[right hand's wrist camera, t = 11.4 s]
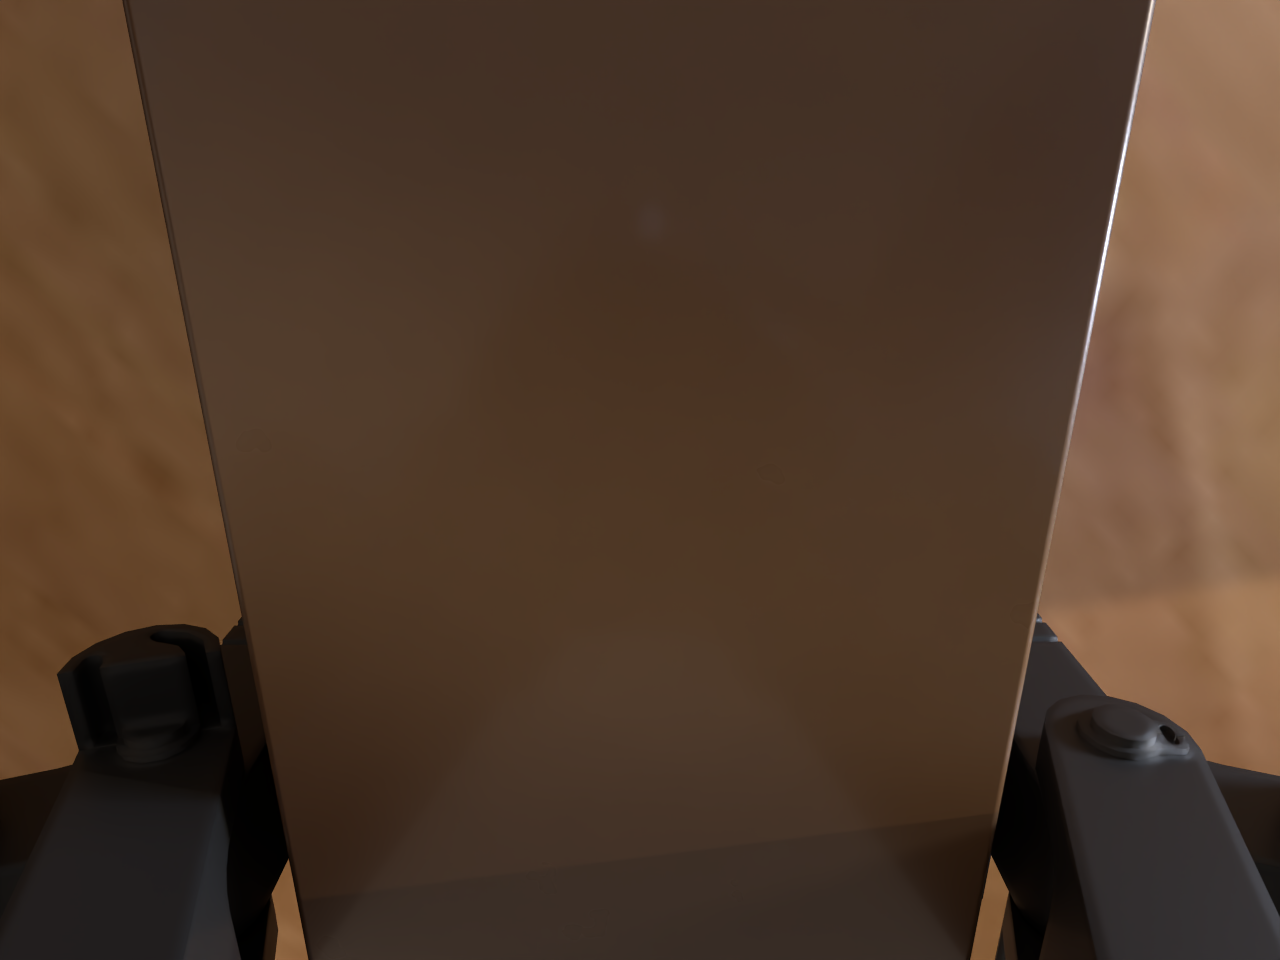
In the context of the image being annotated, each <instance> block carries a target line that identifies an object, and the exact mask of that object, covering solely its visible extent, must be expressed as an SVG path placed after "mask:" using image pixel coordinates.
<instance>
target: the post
mask: <svg viewBox="0 0 1280 960" xmlns="http://www.w3.org/2000/svg"><path fill="white" fill-rule="evenodd" d="M122 1H123V6H124V11H125V16H126V22H127V27H128V32H129V37H130V42H131V47H132V53H133V58H134V63H135V68H136V73H137V78H138V83H139V89H140V94H141V99H142V104H143V109H144V114H145V119H146V125H147V130H148V135H149V140H150V145H151V150H152V156H153V161H154V166H155V171H156V176H157V181H158V186H159V192H160V197H161V202H162V207H163V212H164V217H165V223H166V228H167V233H168V238H169V243H170V248H171V253H172V259H173V264H174V269H175V274H176V279H177V284H178V290H179V295H180V300H181V305H182V310H183V315H184V320H185V326H186V331H187V336H188V341H189V346H190V351H191V357H192V362H193V367H194V372H195V377H196V382H197V387H198V393H199V398H200V403H201V408H202V413H203V418H204V424H205V429H206V434H207V439H208V444H209V449H210V454H211V460H212V465H213V470H214V475H215V480H216V485H217V490H218V496H219V501H220V506H221V511H222V516H223V521H224V527H225V532H226V537H227V542H228V547H229V552H230V557H231V563H232V568H233V573H234V578H235V583H236V588H237V594H238V599H239V604H240V609H241V614H242V619H243V624H244V630H245V635H246V640H247V645H248V650H249V655H250V661H251V666H252V671H253V676H254V681H255V686H256V691H257V697H258V702H259V707H260V712H261V717H262V722H263V728H264V733H265V738H266V743H267V748H268V753H269V758H270V764H271V769H272V774H273V779H274V784H275V789H276V795H277V800H278V805H279V810H280V815H281V820H282V825H283V831H284V836H285V841H286V846H287V851H288V856H289V862H290V867H291V872H292V877H293V882H294V887H295V892H296V898H297V903H298V908H299V913H300V918H301V923H302V928H303V934H304V939H305V944H306V949H307V954H308V959H309V960H970V958H971V953H972V947H973V942H974V937H975V932H976V927H977V922H978V916H979V911H980V906H981V901H982V896H983V891H984V886H985V880H986V875H987V870H988V865H989V860H990V855H991V849H992V844H993V839H994V834H995V829H996V824H997V818H998V813H999V808H1000V803H1001V798H1002V793H1003V787H1004V782H1005V777H1006V772H1007V767H1008V762H1009V757H1010V751H1011V746H1012V741H1013V736H1014V731H1015V726H1016V720H1017V715H1018V710H1019V705H1020V700H1021V695H1022V689H1023V684H1024V679H1025V674H1026V669H1027V664H1028V659H1029V653H1030V648H1031V643H1032V638H1033V633H1034V628H1035V622H1036V617H1037V612H1038V607H1039V602H1040V597H1041V591H1042V586H1043V581H1044V576H1045V571H1046V566H1047V561H1048V555H1049V550H1050V545H1051V540H1052V535H1053V530H1054V524H1055V519H1056V514H1057V509H1058V504H1059V499H1060V493H1061V488H1062V483H1063V478H1064V473H1065V468H1066V462H1067V457H1068V452H1069V447H1070V442H1071V437H1072V432H1073V426H1074V421H1075V416H1076V411H1077V406H1078V401H1079V395H1080V390H1081V385H1082V380H1083V375H1084V370H1085V364H1086V359H1087V354H1088V349H1089V344H1090V339H1091V334H1092V328H1093V323H1094V318H1095V313H1096V308H1097V303H1098V297H1099V292H1100V287H1101V282H1102V277H1103V272H1104V266H1105V261H1106V256H1107V251H1108V246H1109V241H1110V235H1111V230H1112V225H1113V220H1114V215H1115V210H1116V205H1117V199H1118V194H1119V189H1120V184H1121V179H1122V174H1123V168H1124V163H1125V158H1126V153H1127V148H1128V143H1129V137H1130V132H1131V127H1132V122H1133V117H1134V112H1135V107H1136V101H1137V96H1138V91H1139V86H1140V81H1141V76H1142V70H1143V65H1144V60H1145V55H1146V50H1147V45H1148V39H1149V34H1150V29H1151V24H1152V19H1153V14H1154V9H1155V3H1156V0H122Z"/></svg>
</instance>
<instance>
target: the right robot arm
mask: <svg viewBox="0 0 1280 960" xmlns="http://www.w3.org/2000/svg"><path fill="white" fill-rule="evenodd" d="M57 676H58V680H59V683H60V687H61V690H62V694H63V697H64V701H65V704H66V707H67V711H68V714H69V718H70V721H71V725H72V728H73V731H74V735H75V738H76V742H77V745H78V749H79V752H78V754H77V756H76V759H75V761H74V763H73V765H69V766H65V767H62V768H58V769H53V770H48V771H43V772H38V773H33V774H28V775H23V776H18V777H13V778H8V779H3V780H0V960H275V953H276V944H277V935H278V927H277V920H276V914H275V909H274V904H273V899H272V892H273V890H274V888H275V885H276V883H277V881H278V879H279V877H280V875H281V873H282V871H283V869H284V867H285V865H286V863H287V861H288V859H289V856H288V851H287V846H286V841H285V836H284V831H283V825H282V820H281V815H280V810H279V805H278V800H277V795H276V789H275V784H274V779H273V774H272V769H271V764H270V758H269V753H268V748H267V743H266V738H265V733H264V728H263V722H262V717H261V712H260V707H259V702H258V697H257V691H256V686H255V681H254V676H253V671H252V666H251V661H250V655H249V650H248V645H247V640H246V635H245V630H244V624H243V619H242V617H241V618H240V620H239V621H238V626H234V627H233V628H232V629H231V631H230V632H229V633H228V634H227V635H226V637H225V638H224V639H223V644H222V645H220V643H219V638H218V637H217V636H216V635H214V634H213V633H211V632H210V631H209V630H207V629H206V628H201V627H196V626H191V625H186V624H175V625H155V626H151V627H146V628H142V629H137V630H132V631H128V632H124V633H122V634H119V635H116V636H114V637H111V638H108V639H106V640H103V641H101V642H98V643H96V644H94V645H92V646H91V647H89V648H87V649H86V650H84V651H82V652H81V653H79V654H78V655H76V656H74V657H73V658H71V659H70V661H69V662H68V663H67V664H66V665H65V666H64V667H63V668H62V669H61V670H60V671H59V672H58V673H57ZM991 856H992V858H993V860H994V862H995V864H996V866H997V868H998V870H999V872H1000V874H1001V876H1002V878H1003V880H1004V882H1005V884H1006V886H1007V888H1008V890H1009V894H1008V899H1007V904H1006V909H1005V914H1004V918H1003V923H1002V928H1001V933H1000V938H999V943H998V947H997V952H996V957H995V960H1280V776H1276V775H1271V774H1266V773H1261V772H1256V771H1251V770H1246V769H1241V768H1236V767H1231V766H1226V765H1222V764H1218V763H1214V762H1210V761H1206V759H1205V757H1204V755H1203V753H1202V751H1201V749H1200V748H1199V746H1198V745H1197V744H1196V743H1195V741H1194V740H1193V739H1192V737H1191V736H1190V735H1189V734H1188V732H1187V731H1185V730H1184V729H1182V728H1181V727H1180V726H1178V725H1177V724H1175V723H1174V722H1172V721H1171V720H1170V719H1168V718H1167V717H1165V716H1164V715H1162V714H1159V713H1157V712H1155V711H1153V710H1150V709H1148V708H1146V707H1144V706H1141V705H1139V704H1137V703H1133V702H1129V701H1125V700H1121V699H1117V698H1113V697H1109V696H1106V695H1105V693H1104V692H1103V691H1102V690H1101V689H1100V687H1099V686H1098V685H1097V684H1096V683H1095V681H1094V680H1093V679H1092V678H1091V677H1090V675H1089V674H1088V673H1087V672H1086V671H1085V669H1084V668H1083V667H1082V666H1081V665H1080V663H1079V662H1078V661H1077V660H1076V659H1075V657H1074V656H1073V655H1072V654H1071V653H1070V651H1069V650H1068V649H1067V648H1066V647H1065V645H1064V644H1063V643H1062V642H1058V640H1057V636H1056V635H1055V633H1054V632H1053V631H1052V630H1051V629H1050V627H1049V626H1048V625H1047V624H1046V623H1042V618H1041V617H1040V615H1039V614H1038V613H1037V617H1036V622H1035V628H1034V633H1033V638H1032V643H1031V648H1030V653H1029V659H1028V664H1027V669H1026V674H1025V679H1024V684H1023V689H1022V695H1021V700H1020V705H1019V710H1018V715H1017V720H1016V726H1015V731H1014V736H1013V741H1012V746H1011V751H1010V757H1009V762H1008V767H1007V772H1006V777H1005V782H1004V787H1003V793H1002V798H1001V803H1000V808H999V813H998V818H997V824H996V829H995V834H994V839H993V844H992V849H991V855H990V858H991ZM989 863H990V860H989ZM988 868H989V865H988ZM987 873H988V870H987ZM986 878H987V875H986ZM985 883H986V880H985ZM984 889H985V886H984ZM983 894H984V891H983ZM982 899H983V896H982Z"/></svg>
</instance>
